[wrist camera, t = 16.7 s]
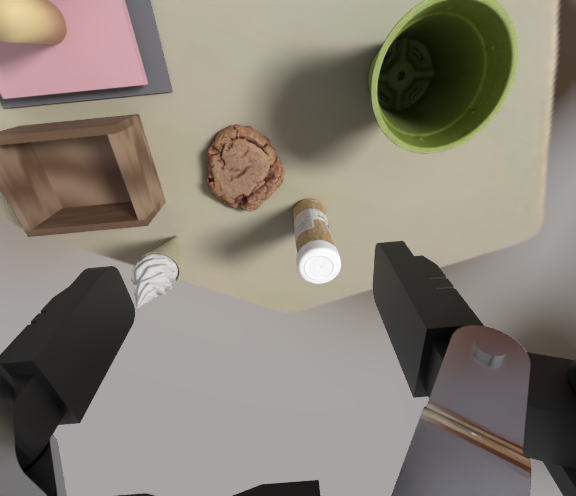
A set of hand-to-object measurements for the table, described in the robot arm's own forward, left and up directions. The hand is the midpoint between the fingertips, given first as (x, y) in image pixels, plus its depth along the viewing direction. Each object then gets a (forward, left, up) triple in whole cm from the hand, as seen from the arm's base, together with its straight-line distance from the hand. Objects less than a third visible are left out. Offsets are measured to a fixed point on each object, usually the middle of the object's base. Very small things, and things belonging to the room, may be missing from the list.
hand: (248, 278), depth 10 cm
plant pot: (-3, +15, -32) cm, 36 cm away
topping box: (+4, -22, -32) cm, 39 cm away
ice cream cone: (+15, -15, -32) cm, 39 cm away
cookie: (+6, -4, -33) cm, 33 cm away
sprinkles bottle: (+13, +4, -32) cm, 35 cm away
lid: (-10, -20, -32) cm, 39 cm away
